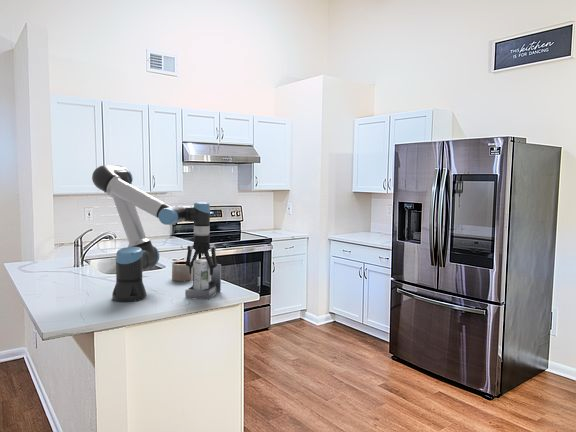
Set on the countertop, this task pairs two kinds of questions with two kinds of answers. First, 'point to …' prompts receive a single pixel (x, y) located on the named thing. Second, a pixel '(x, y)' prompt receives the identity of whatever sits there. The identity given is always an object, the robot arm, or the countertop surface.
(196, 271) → the syrup box
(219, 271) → the bracket
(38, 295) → the countertop surface
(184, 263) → the planter
